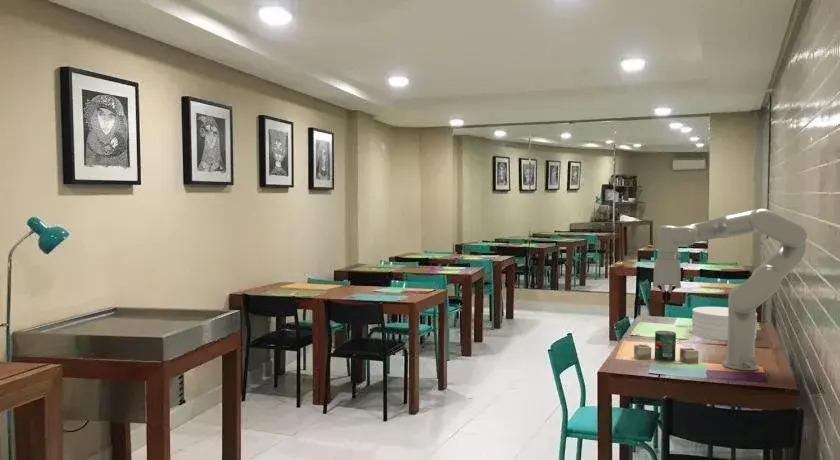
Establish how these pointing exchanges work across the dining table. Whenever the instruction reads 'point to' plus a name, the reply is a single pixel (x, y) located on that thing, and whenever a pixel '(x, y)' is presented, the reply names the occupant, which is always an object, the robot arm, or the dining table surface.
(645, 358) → the marked block two
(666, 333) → the canned tomato
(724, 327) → the plate stack
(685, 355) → the marked block one
